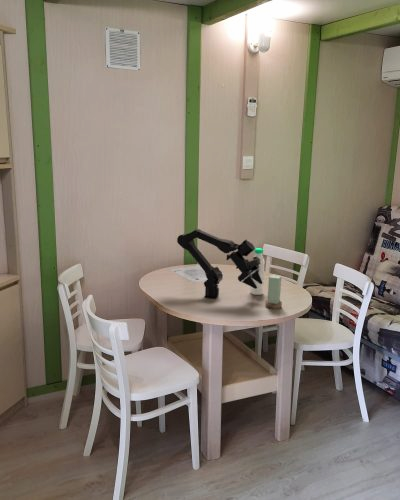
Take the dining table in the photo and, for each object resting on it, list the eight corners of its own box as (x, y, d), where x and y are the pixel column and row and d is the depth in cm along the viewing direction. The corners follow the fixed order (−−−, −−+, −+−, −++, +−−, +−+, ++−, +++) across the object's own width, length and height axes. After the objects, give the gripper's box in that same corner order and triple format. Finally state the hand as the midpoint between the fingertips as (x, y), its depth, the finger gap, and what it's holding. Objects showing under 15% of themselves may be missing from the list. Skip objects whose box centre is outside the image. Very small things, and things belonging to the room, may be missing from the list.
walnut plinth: (264, 308, 235) (264, 303, 234) (266, 303, 242) (266, 298, 242) (280, 309, 233) (281, 305, 232) (282, 304, 240) (282, 300, 240)
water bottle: (261, 291, 262) (264, 247, 257) (264, 295, 256) (266, 250, 250) (249, 291, 262) (251, 247, 257) (251, 295, 255) (253, 249, 250)
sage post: (267, 302, 236) (268, 277, 233) (270, 299, 240) (271, 274, 238) (277, 303, 234) (278, 278, 231) (279, 301, 238) (281, 276, 236)
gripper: (245, 255, 229) (265, 281, 227) (257, 249, 246) (276, 272, 244) (229, 269, 234) (249, 294, 232) (241, 261, 250) (260, 284, 248)
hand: (259, 285), depth 239 cm, fingers open, 9 cm apart
